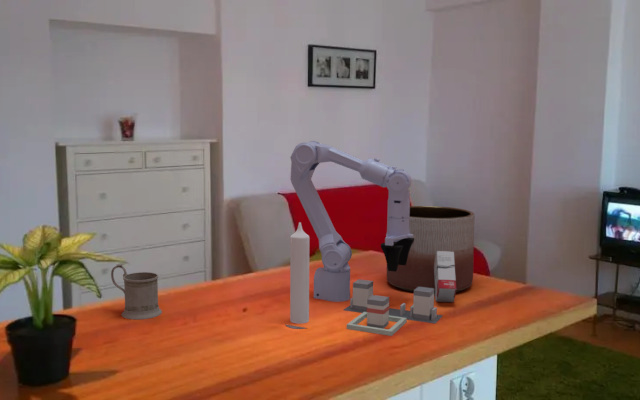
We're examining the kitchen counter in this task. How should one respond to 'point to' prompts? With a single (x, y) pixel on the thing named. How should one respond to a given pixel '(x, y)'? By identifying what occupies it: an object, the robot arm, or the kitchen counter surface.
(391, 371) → the kitchen counter surface
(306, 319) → the candle
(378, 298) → the red banded fuse
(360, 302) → the block
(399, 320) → the grey square frame
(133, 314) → the mug
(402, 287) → the planter
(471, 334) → the kitchen counter surface
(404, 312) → the board
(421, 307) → the fuse right
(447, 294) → the ink box
